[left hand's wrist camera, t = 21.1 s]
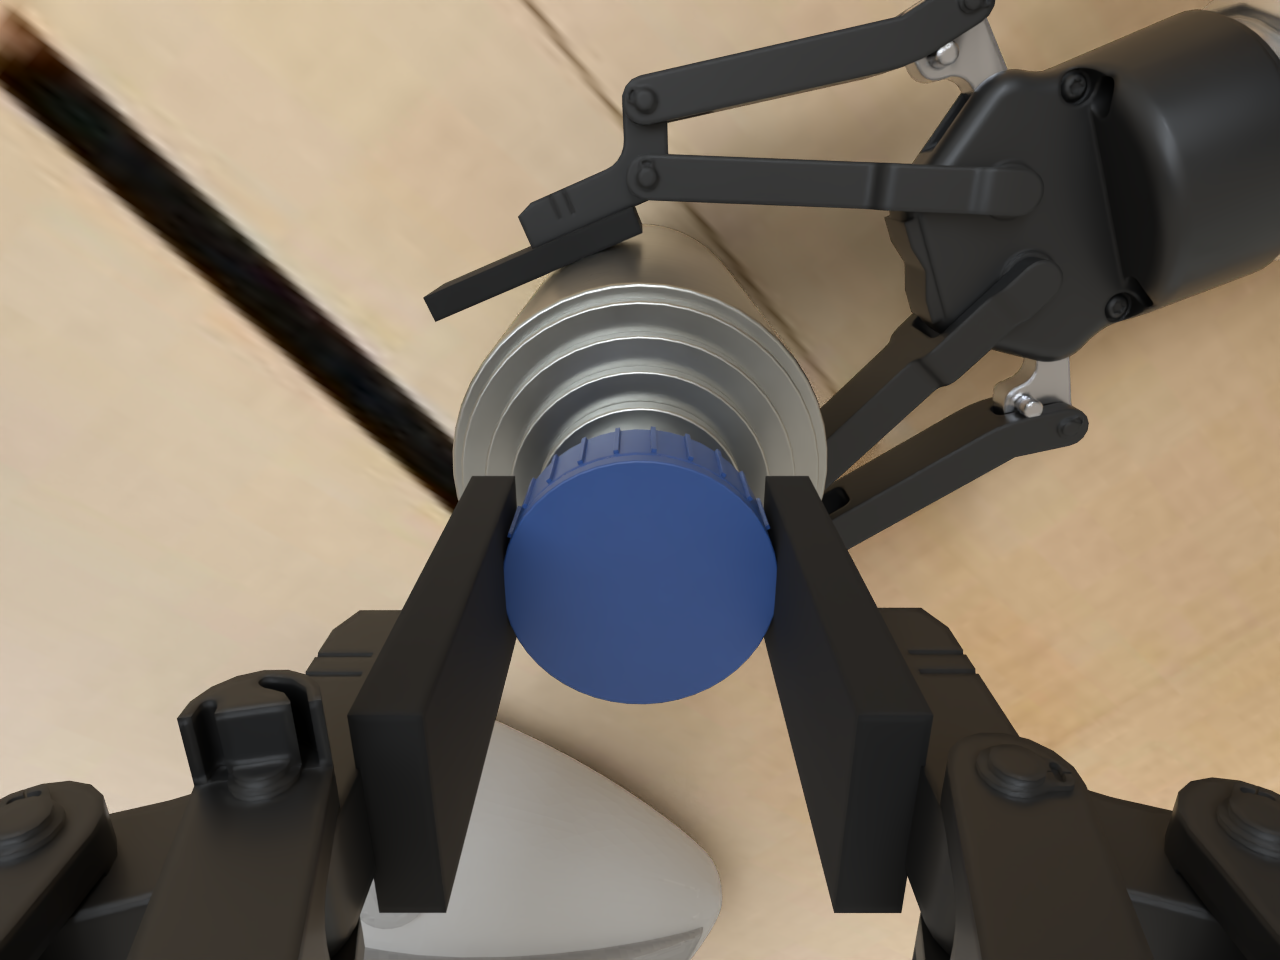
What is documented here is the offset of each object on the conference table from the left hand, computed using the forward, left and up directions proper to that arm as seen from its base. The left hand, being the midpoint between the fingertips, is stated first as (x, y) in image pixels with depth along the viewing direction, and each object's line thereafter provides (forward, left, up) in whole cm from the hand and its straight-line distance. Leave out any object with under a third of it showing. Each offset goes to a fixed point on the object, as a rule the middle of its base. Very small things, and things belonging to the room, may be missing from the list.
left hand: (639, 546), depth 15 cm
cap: (0, 0, +1) cm, 1 cm away
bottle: (0, 0, -18) cm, 18 cm away
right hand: (-5, -1, -12) cm, 13 cm away
